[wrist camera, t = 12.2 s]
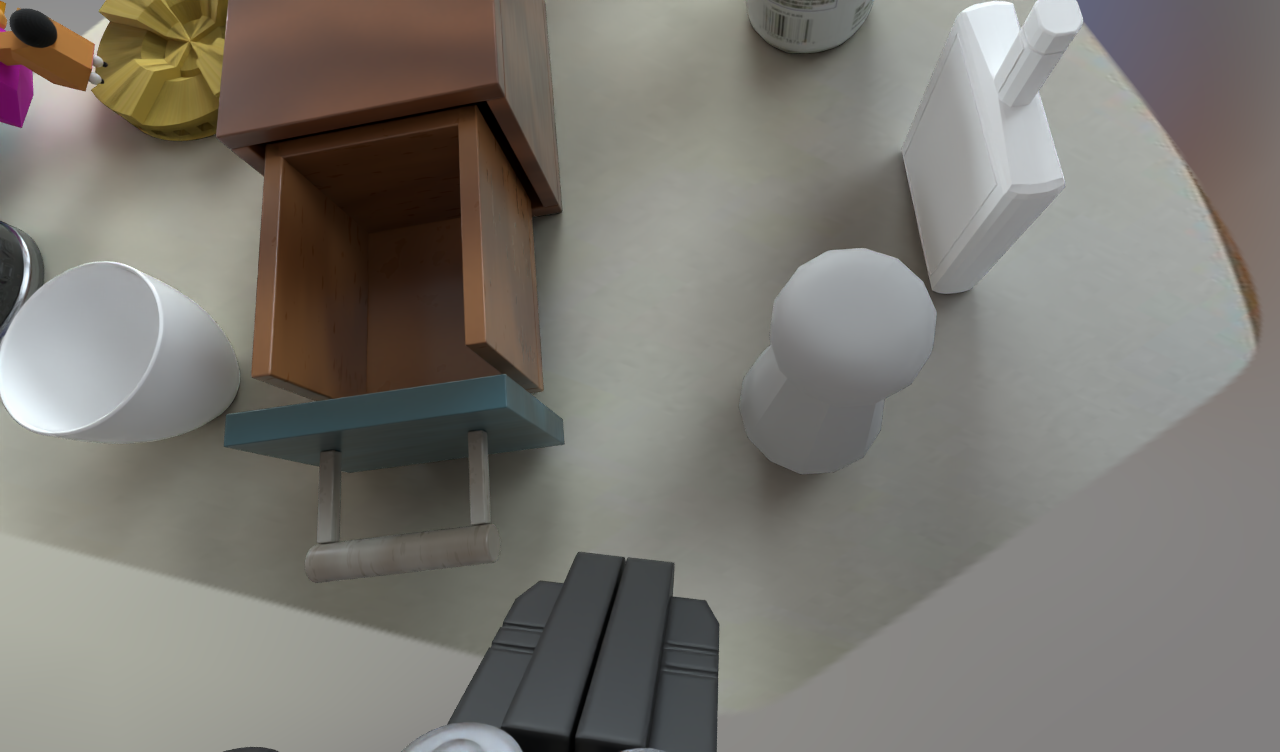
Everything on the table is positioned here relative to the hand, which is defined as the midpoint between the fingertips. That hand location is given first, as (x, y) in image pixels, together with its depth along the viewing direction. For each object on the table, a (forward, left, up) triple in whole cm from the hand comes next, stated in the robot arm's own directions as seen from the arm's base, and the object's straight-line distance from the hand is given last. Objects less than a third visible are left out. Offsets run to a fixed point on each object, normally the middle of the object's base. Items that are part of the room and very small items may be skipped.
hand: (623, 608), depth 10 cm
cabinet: (-10, +25, -18) cm, 33 cm away
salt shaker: (+6, +6, -19) cm, 21 cm away
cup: (-25, +12, -19) cm, 34 cm away
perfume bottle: (+14, +15, -19) cm, 27 cm away
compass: (-26, +33, -16) cm, 45 cm away
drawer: (-10, +10, -18) cm, 23 cm away
